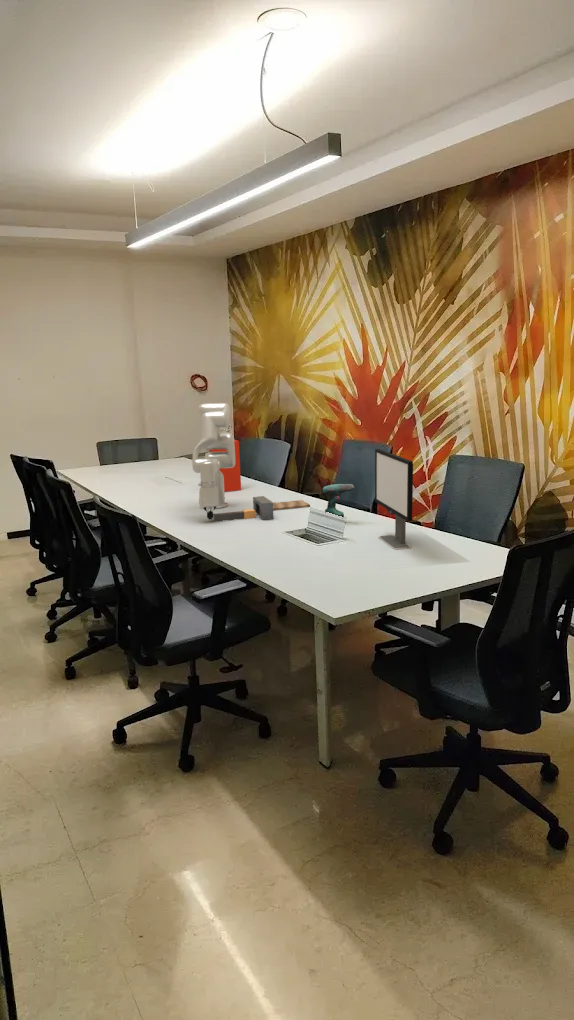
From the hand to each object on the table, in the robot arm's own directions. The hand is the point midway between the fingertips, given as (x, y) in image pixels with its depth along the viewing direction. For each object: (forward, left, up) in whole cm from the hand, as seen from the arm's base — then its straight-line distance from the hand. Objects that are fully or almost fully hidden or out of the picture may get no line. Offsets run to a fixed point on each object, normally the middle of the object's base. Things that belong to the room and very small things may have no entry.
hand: (210, 518), depth 343 cm
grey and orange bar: (-6, +11, -1) cm, 13 cm away
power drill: (-6, +67, -2) cm, 67 cm away
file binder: (-81, -16, -2) cm, 82 cm away
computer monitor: (+29, +97, -2) cm, 101 cm away
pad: (-38, +32, -1) cm, 50 cm away
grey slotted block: (-15, +25, -1) cm, 29 cm away
